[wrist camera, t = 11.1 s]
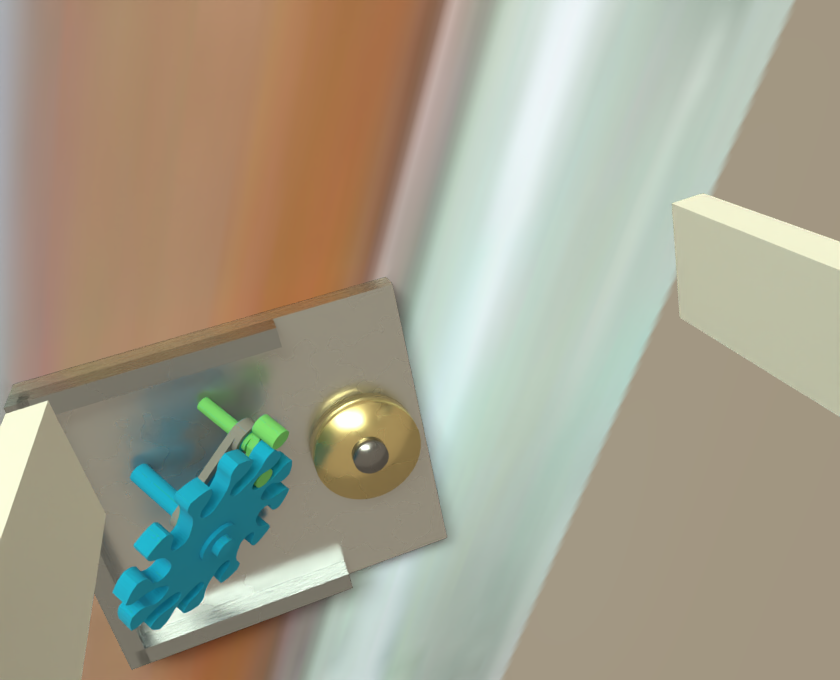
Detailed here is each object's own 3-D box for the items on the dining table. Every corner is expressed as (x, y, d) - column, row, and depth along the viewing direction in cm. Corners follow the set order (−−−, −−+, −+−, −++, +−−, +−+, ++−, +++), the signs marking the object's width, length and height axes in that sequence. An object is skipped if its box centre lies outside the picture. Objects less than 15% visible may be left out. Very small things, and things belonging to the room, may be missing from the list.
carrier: (385, 276, 39) (402, 295, 36) (440, 525, 45) (457, 556, 43) (12, 384, 35) (1, 414, 32) (133, 637, 42) (131, 678, 39)
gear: (217, 621, 40) (91, 664, 30) (140, 550, 41) (-2, 568, 32) (340, 444, 40) (252, 431, 30) (257, 381, 42) (150, 350, 32)
